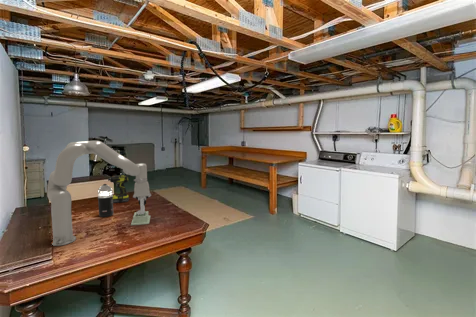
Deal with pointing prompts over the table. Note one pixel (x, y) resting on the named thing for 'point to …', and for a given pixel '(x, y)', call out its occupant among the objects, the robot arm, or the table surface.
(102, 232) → the table surface
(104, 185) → the black silver cylindrical canister
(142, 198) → the bracket
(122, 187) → the power drill
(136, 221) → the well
